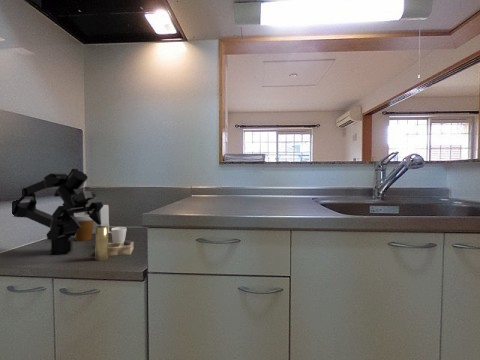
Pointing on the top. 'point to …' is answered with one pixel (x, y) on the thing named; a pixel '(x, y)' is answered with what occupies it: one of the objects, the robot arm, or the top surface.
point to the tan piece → (101, 242)
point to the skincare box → (102, 218)
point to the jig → (120, 248)
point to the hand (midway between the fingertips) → (90, 226)
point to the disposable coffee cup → (84, 227)
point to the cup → (118, 234)
